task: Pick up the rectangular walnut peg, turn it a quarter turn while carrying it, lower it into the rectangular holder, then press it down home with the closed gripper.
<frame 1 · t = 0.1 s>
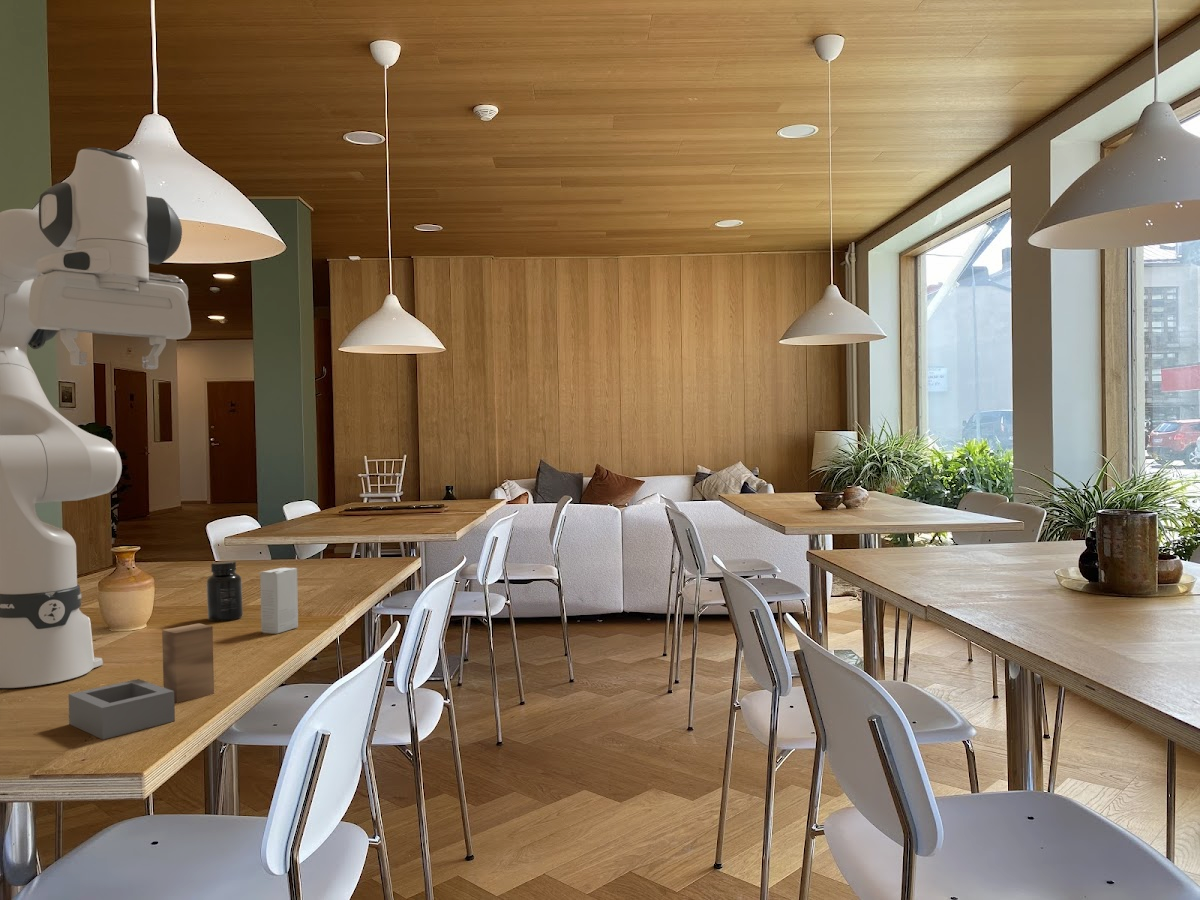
hand: (115, 367, 122), 48 cm above the table, fingers open, 8 cm apart
walnut peg: (189, 695, 130), on the table
holder: (122, 722, 117), on the table
skincare box: (280, 631, 174), on the table
supplement bottle: (225, 619, 187), on the table
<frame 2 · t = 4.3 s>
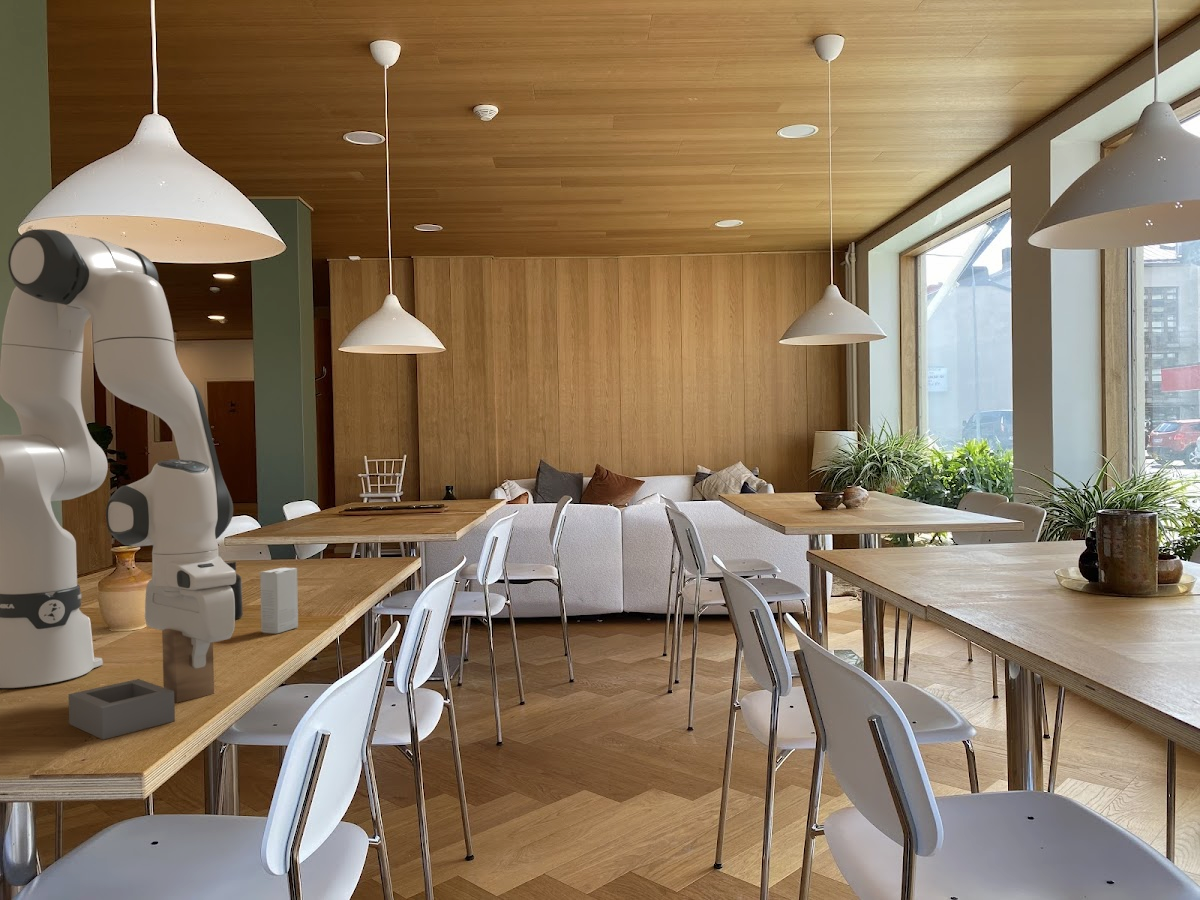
hand: (188, 664, 129), 5 cm above the table, fingers closed on walnut peg, 4 cm apart
walnut peg: (189, 695, 130), on the table, touching gripper
everything else where it was.
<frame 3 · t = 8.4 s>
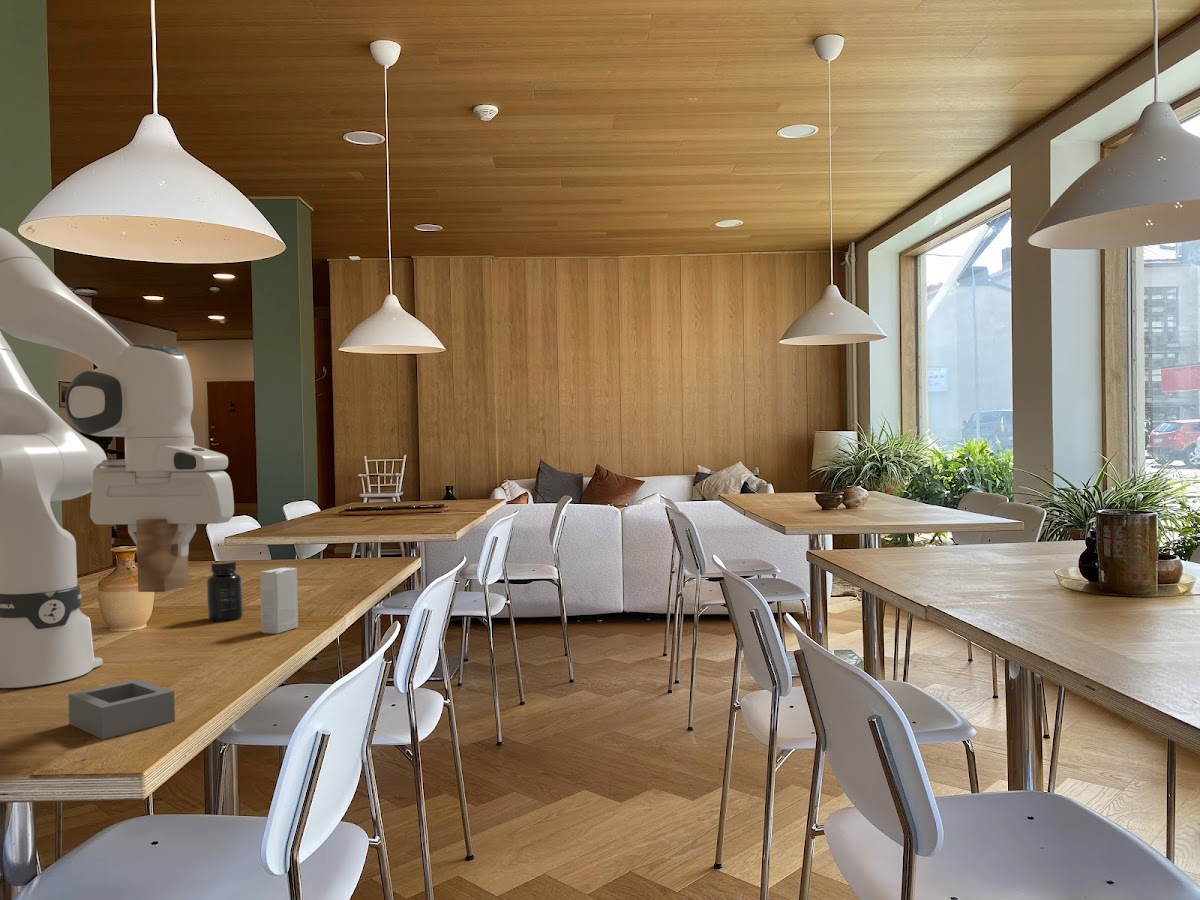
hand: (162, 556, 125), 21 cm above the table, fingers closed on walnut peg, 4 cm apart
walnut peg: (163, 588, 125), point 17 cm above the table, touching gripper
everything else where it was.
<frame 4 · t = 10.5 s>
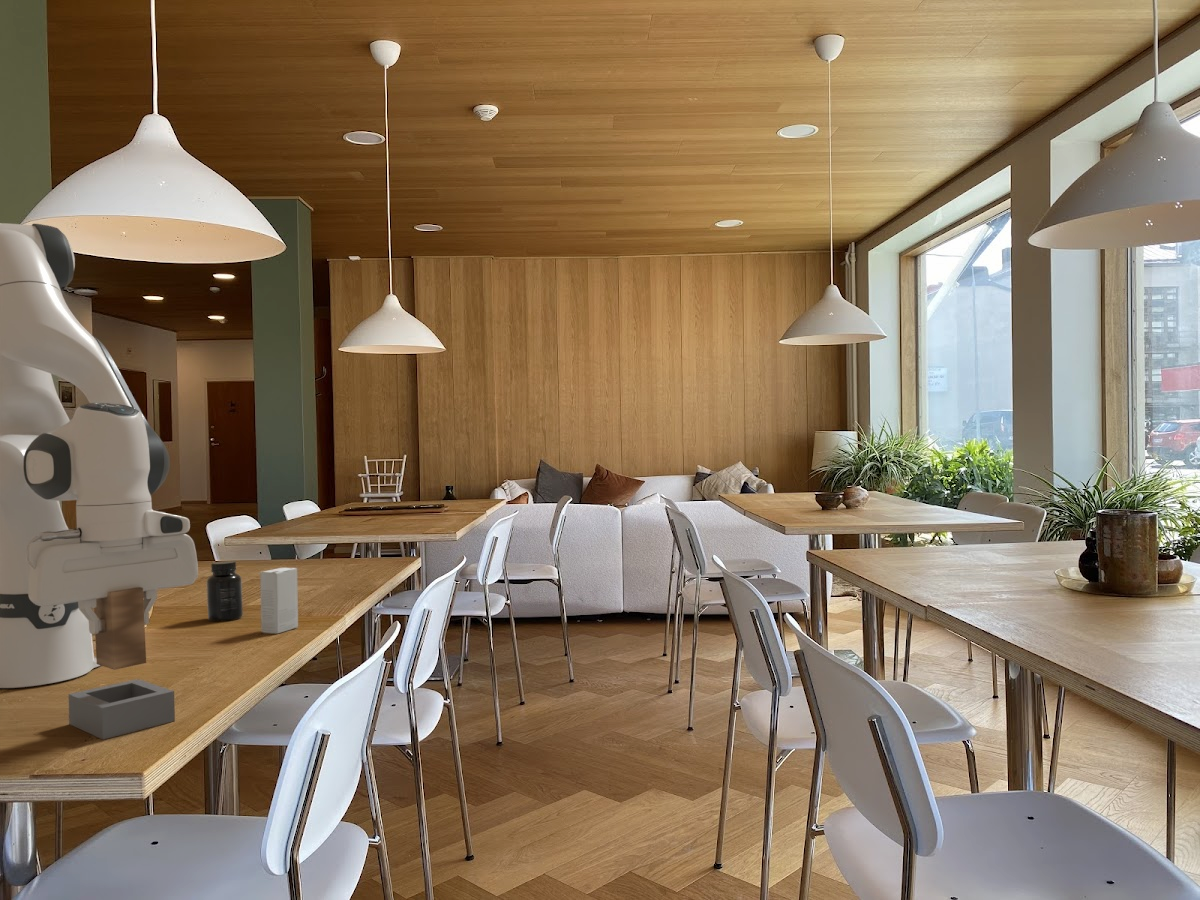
hand: (119, 628, 117), 13 cm above the table, fingers closed on walnut peg, 4 cm apart
walnut peg: (121, 663, 117), point 8 cm above the table, touching gripper
everything else where it was.
when the fingers open (6 cm above the table, at t = 12.6 s): walnut peg stays where it is, resting in holder.
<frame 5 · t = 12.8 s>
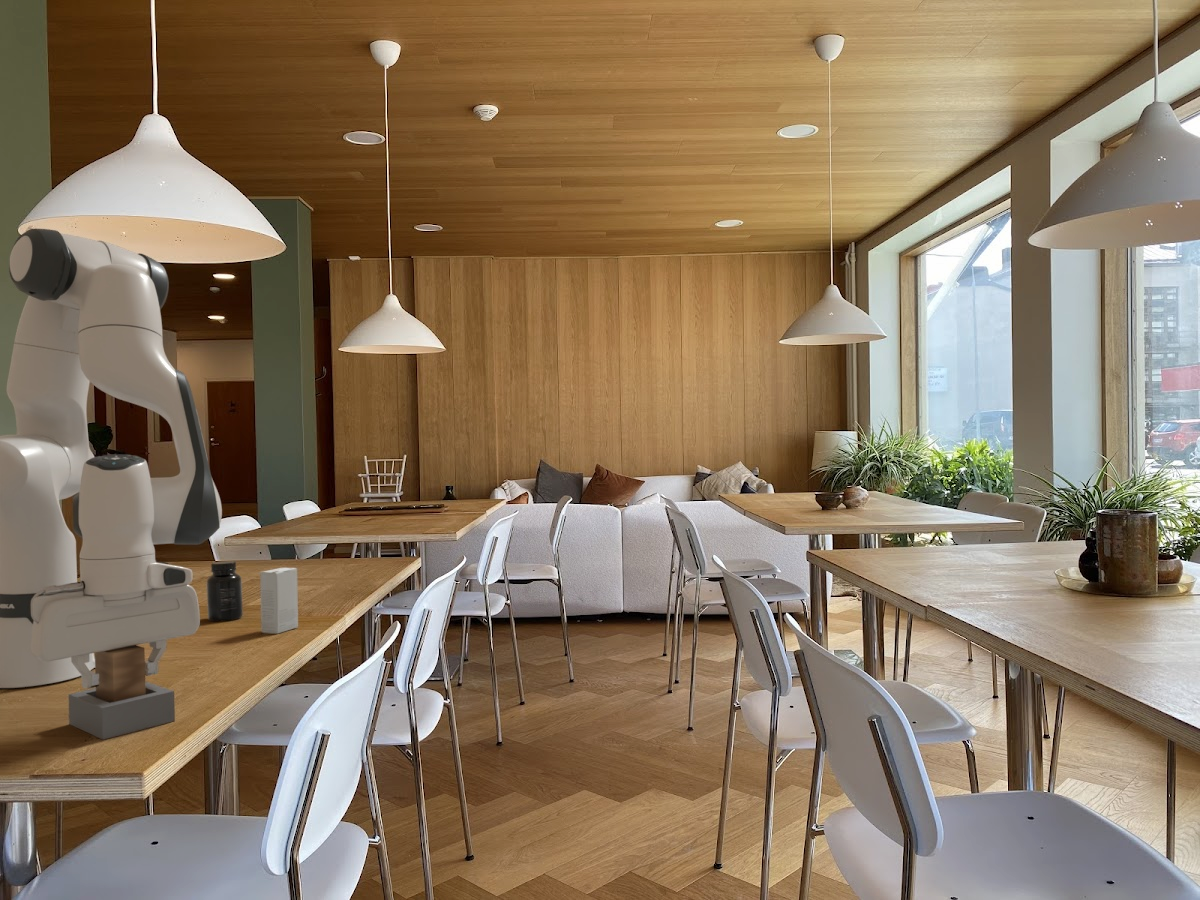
hand: (121, 680, 117), 6 cm above the table, fingers open, 6 cm apart
walnut peg: (121, 722, 117), resting in holder
everything else where it was.
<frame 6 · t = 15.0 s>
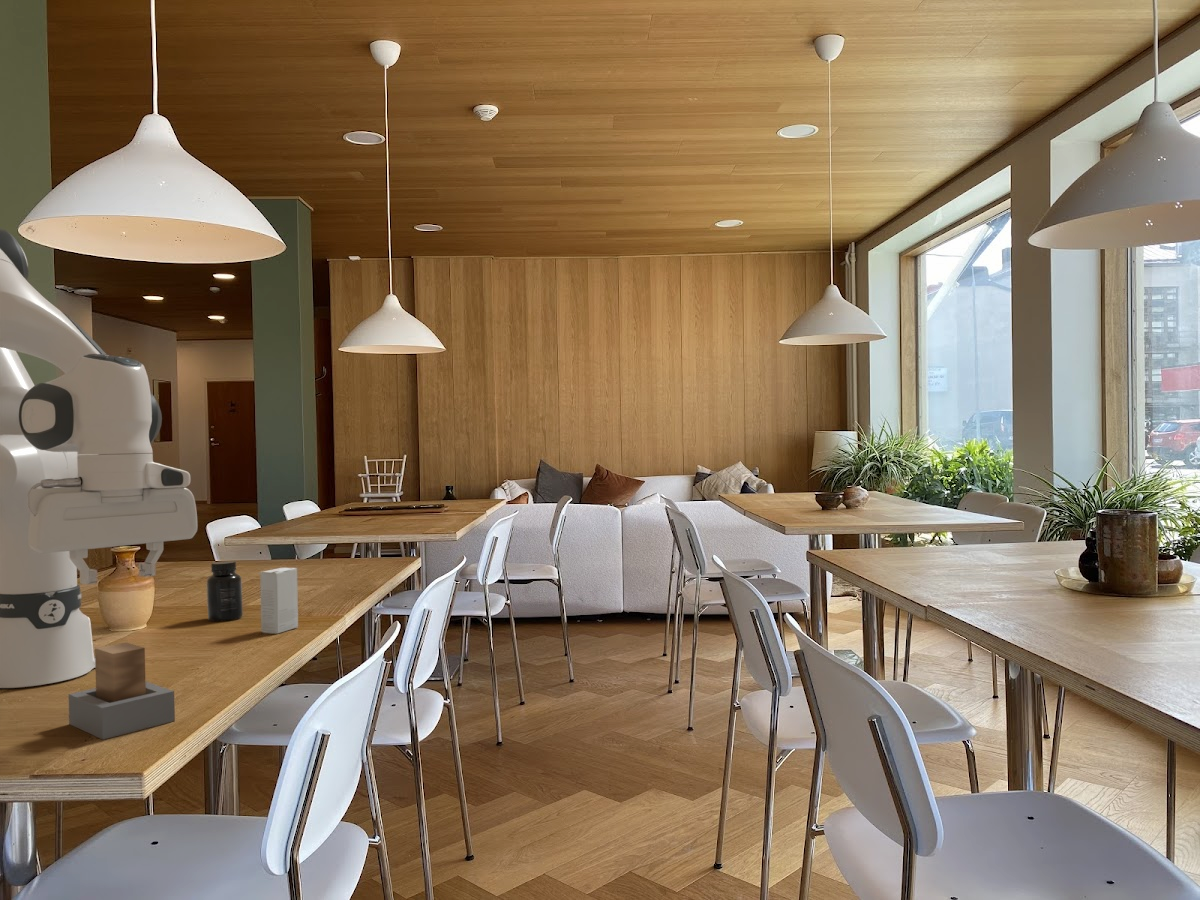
hand: (118, 580, 117), 19 cm above the table, fingers open, 6 cm apart
nothing on the table moved.
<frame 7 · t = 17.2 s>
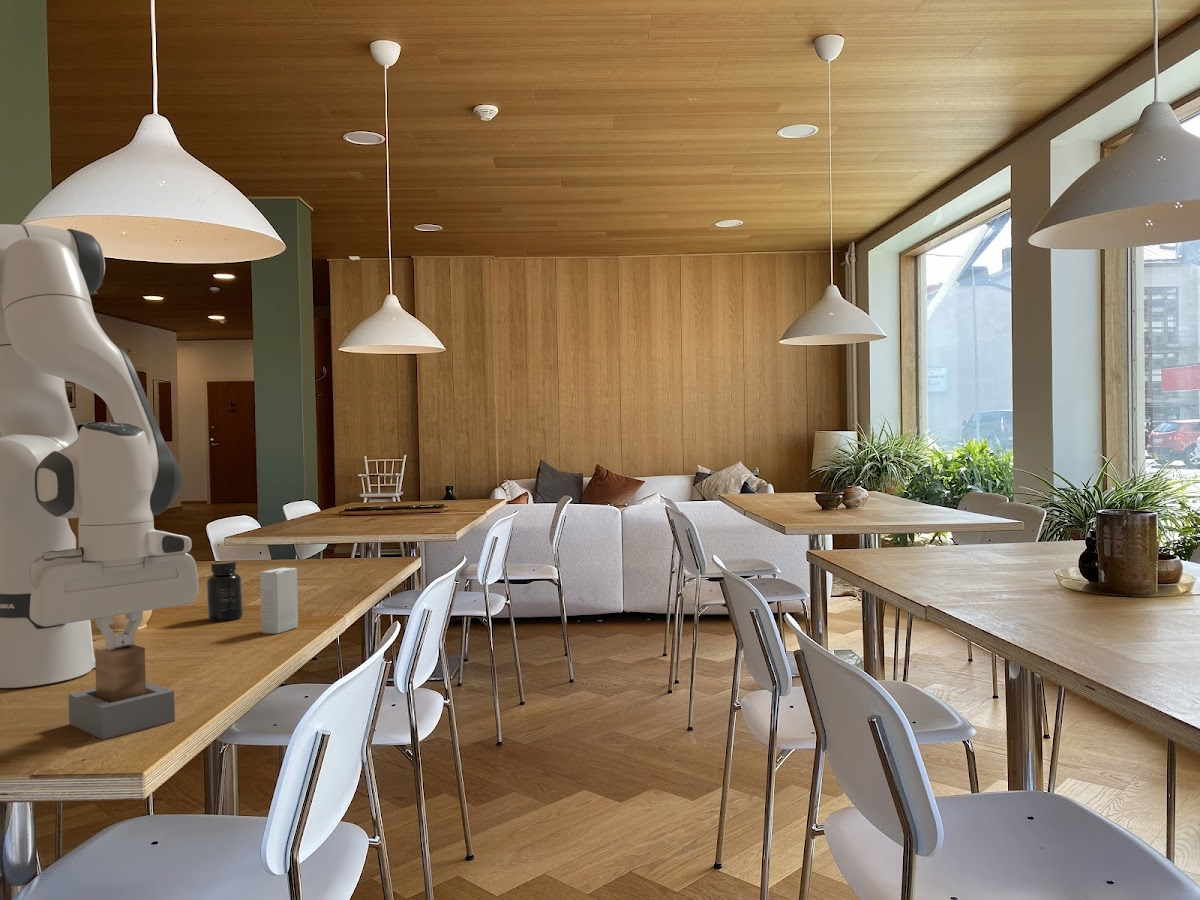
hand: (120, 648, 117), 10 cm above the table, fingers closed, pressing on walnut peg
walnut peg: (121, 722, 117), resting in holder, touching gripper
everything else where it was.
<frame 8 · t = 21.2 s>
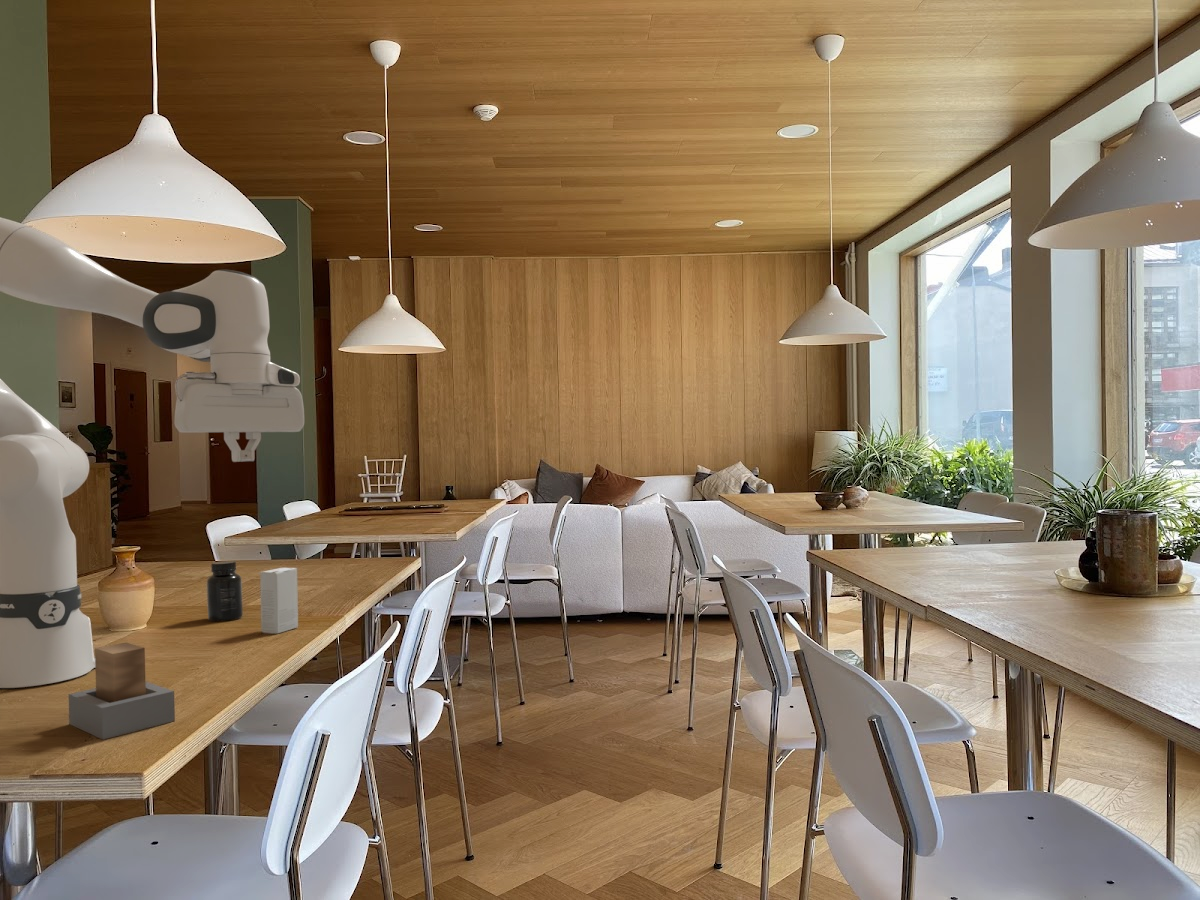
hand: (243, 461, 140), 34 cm above the table, fingers closed
walnut peg: (121, 722, 117), resting in holder
everything else where it was.
at the end: walnut peg 0.1 cm off-centre on the holder, point 0.0 cm above the holder's base; walnut peg tilted 0°; the gripper is holding nothing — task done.
